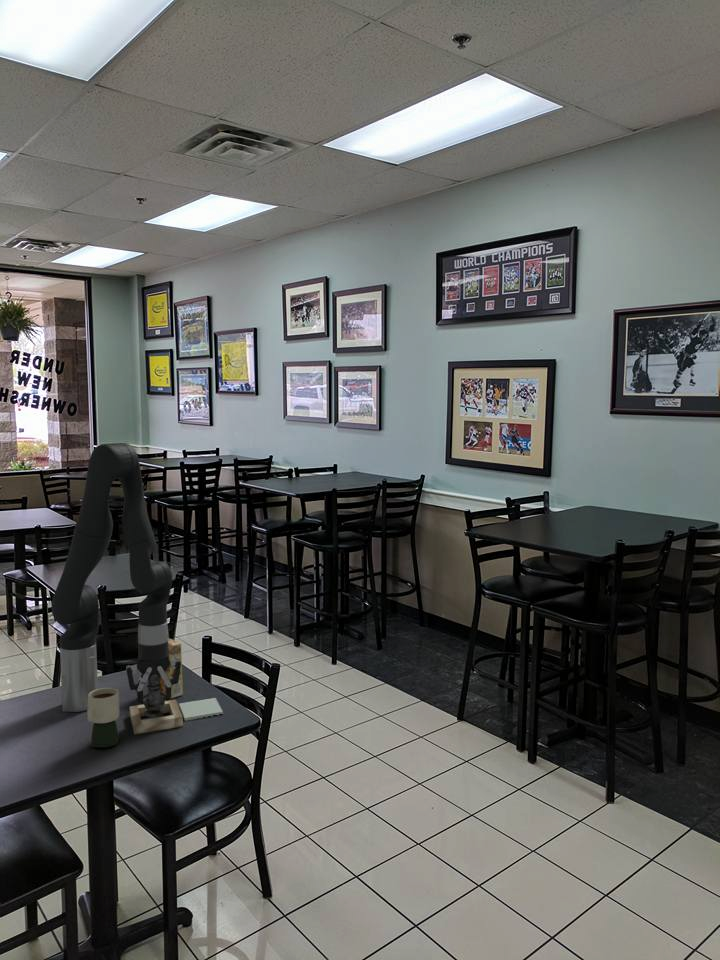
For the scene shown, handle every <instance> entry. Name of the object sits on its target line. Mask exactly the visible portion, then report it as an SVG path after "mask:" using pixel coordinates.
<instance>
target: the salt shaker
mask: <svg viewBox="0 0 720 960" xmlns="http://www.w3.org/2000/svg"><path fill="white" fill-rule="evenodd" d="M160 687H161V684H160V678H159V676H158V675H153V676H151V679H147V685H146V688H147V693H148V694H147V696H146V697H143V704H144V706H145V708H146V709H147V711H145V713H144V715H145V716H144V717H147V718H159V717H162V716H164V715H165V714H166V713H165V710H164V709H162V707H163V706H164V704H165V701H166V698H165V695H162V693H161V692H160Z"/></svg>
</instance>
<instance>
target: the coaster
mask: <svg viewBox="0 0 720 960" xmlns="http://www.w3.org/2000/svg"><path fill="white" fill-rule="evenodd" d="M178 707H179V709H180V712H181V714H182V717H183V720H184V721H185V722H186V721H187V722H188V721H192V720H198V718H199V719H204V718H203V717H205V718H209V717H208V716H211V717H214V716H213V715H217V716H220V715H219V714H223V715H224V711H223V709H222V708H221V705H220V703H219V702H218V700H217V698H216V697H212V698H207V699H200V700H194V701H193V700H192V701H186V702H180V703H178Z"/></svg>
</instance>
